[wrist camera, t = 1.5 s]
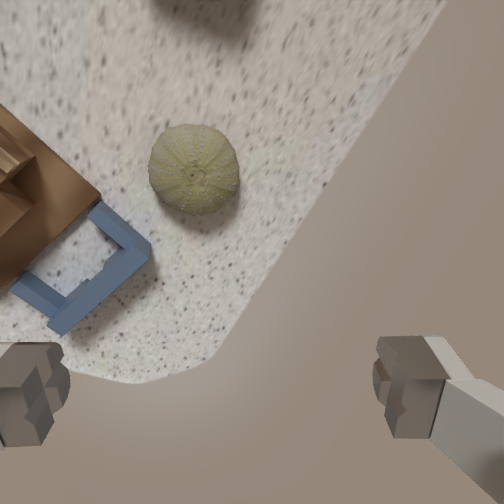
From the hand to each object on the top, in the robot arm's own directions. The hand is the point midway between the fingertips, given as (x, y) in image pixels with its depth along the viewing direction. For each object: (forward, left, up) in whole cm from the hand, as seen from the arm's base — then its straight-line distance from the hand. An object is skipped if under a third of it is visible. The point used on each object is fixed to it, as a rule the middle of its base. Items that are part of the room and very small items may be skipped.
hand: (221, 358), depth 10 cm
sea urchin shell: (+2, 0, -33) cm, 33 cm away
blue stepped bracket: (+1, -16, -33) cm, 37 cm away
